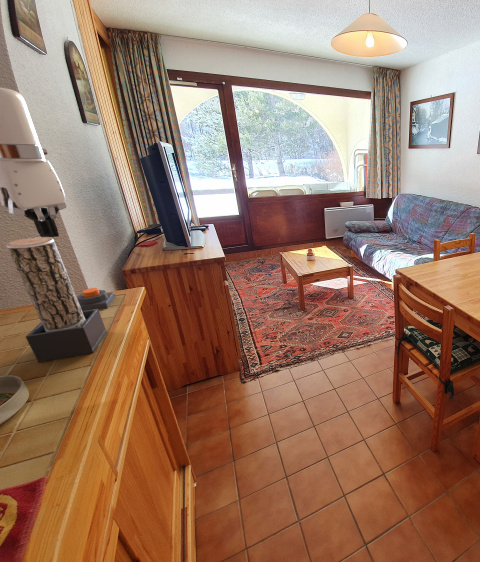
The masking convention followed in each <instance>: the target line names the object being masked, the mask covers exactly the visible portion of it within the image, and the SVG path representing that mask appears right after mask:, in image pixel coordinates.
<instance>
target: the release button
mask: <svg viewBox="0 0 480 562" xmlns="http://www.w3.org/2000/svg"><path fill="white" fill-rule="evenodd" d="M99 290H100V289H99V288H98V287H90V288H86V289H84V290H82V292H81V294H83V296H84V297H86V298H88V297H93V296H97V295H99V294H100V293H99Z"/></svg>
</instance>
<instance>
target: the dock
mask: <svg viewBox="0 0 480 562" xmlns="http://www.w3.org/2000/svg"><path fill="white" fill-rule="evenodd" d="M82 312H83V314H84V317H85V319H86V321H85V323H84V324H83V325H82V326H81V327H77V328H71V329H64V330H58V331H51V332H46V331H45V329H44V326H43V324H42V322H41V321H40V322H39V323H38V324H37V325H36V326H35V327H34V328H33V329H32V330H31V331H30V332H29V333H28V334H26V336H25V339H26V340H27V343H28V345H29V346H30V349H31V351H32V353H33V355H34V356H35V359H36V361H37V363H38V364H40V363H46V362H51V361H57V360H62V359H68V358H74V357H78V356H83V355H88V354H89V355H90V354H94V353H95V351H96V350H97V348H98V347H99V345H100V343H101V342H102V340H103V339H104V337H105V336H106V334H107V330H106V326H105V324H104V321H103V318H102V316H101V312H100V309H99V310H98V309H94V310H87V311H82Z"/></svg>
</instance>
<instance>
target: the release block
mask: <svg viewBox="0 0 480 562" xmlns="http://www.w3.org/2000/svg"><path fill="white" fill-rule="evenodd" d="M98 290H99V293H100V294H99V295H97V296H93V297H88V298H86V297H84V296H83V293H80V294H78V296H76V297H77V299H78V302H79V304H80V307H81V309H82V311H87V310H94V309H98V310H99V311H100V310H104V309H105V310H106V309H109V307H110V306H111V304H113V302H114V301H115V299H116V298H117V296H116V293H115V292H107V291H106V290H105V289H98Z"/></svg>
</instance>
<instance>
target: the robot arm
mask: <svg viewBox="0 0 480 562" xmlns="http://www.w3.org/2000/svg"><path fill="white" fill-rule="evenodd" d="M46 155H48V151H47V149H46V148H42V146H41V144H40V140H39V137H38V135H37V131H36V129H35V125H34V123H33V120H32V118H31V114H30V112H29V109H28V106H27V103H26V101H25V98H24V96H23V95H22V94H21V93H20V92H19V91H16V90H13V89H10V88H6V87H0V205H1V206H3V207H4V208H6V209H8V213H9V215H11V216H24V217H26V218H27V219H29V220H30V221H31V222H33V224H34V225H35V228H36V231H37V234H39V237H51V238H53V239H54V238H55V237H56V238H57V237H60V234H59V229H58V227H57V224H56V221H55V220H56V219H57V214H58V213H59V211H63V210H65V209H66V208H67V204H66V202H67V201H66V200H67V199H66V195H65V191H64V189H63V186H62V184H61V181H60V179H59V177H58V175H57V173H56V171H55V170H54V168H53V166H52V164H51V163H50V161H49V160H46V158H45V156H46Z"/></svg>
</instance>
